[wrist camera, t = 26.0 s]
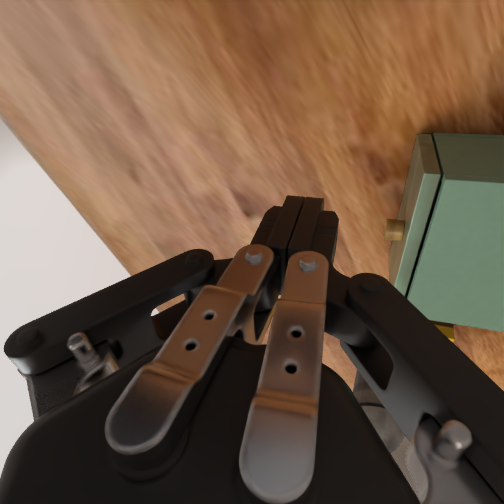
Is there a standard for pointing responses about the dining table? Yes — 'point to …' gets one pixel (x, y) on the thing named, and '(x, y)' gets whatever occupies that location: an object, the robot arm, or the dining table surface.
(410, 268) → the drawer
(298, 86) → the dining table surface
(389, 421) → the beverage cup
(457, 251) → the cabinet
